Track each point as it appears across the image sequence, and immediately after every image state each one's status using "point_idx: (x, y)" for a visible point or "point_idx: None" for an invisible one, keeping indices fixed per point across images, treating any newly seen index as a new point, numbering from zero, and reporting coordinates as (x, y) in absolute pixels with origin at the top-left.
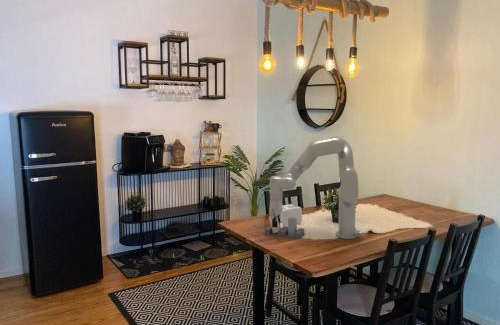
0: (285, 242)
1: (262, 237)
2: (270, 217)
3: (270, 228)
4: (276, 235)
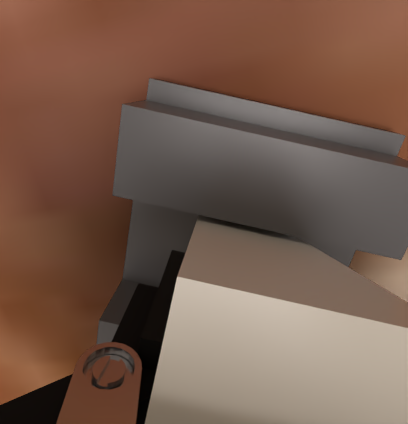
0: (16, 346)
1: (67, 81)
2: (160, 356)
3: (182, 202)
4: (127, 263)
